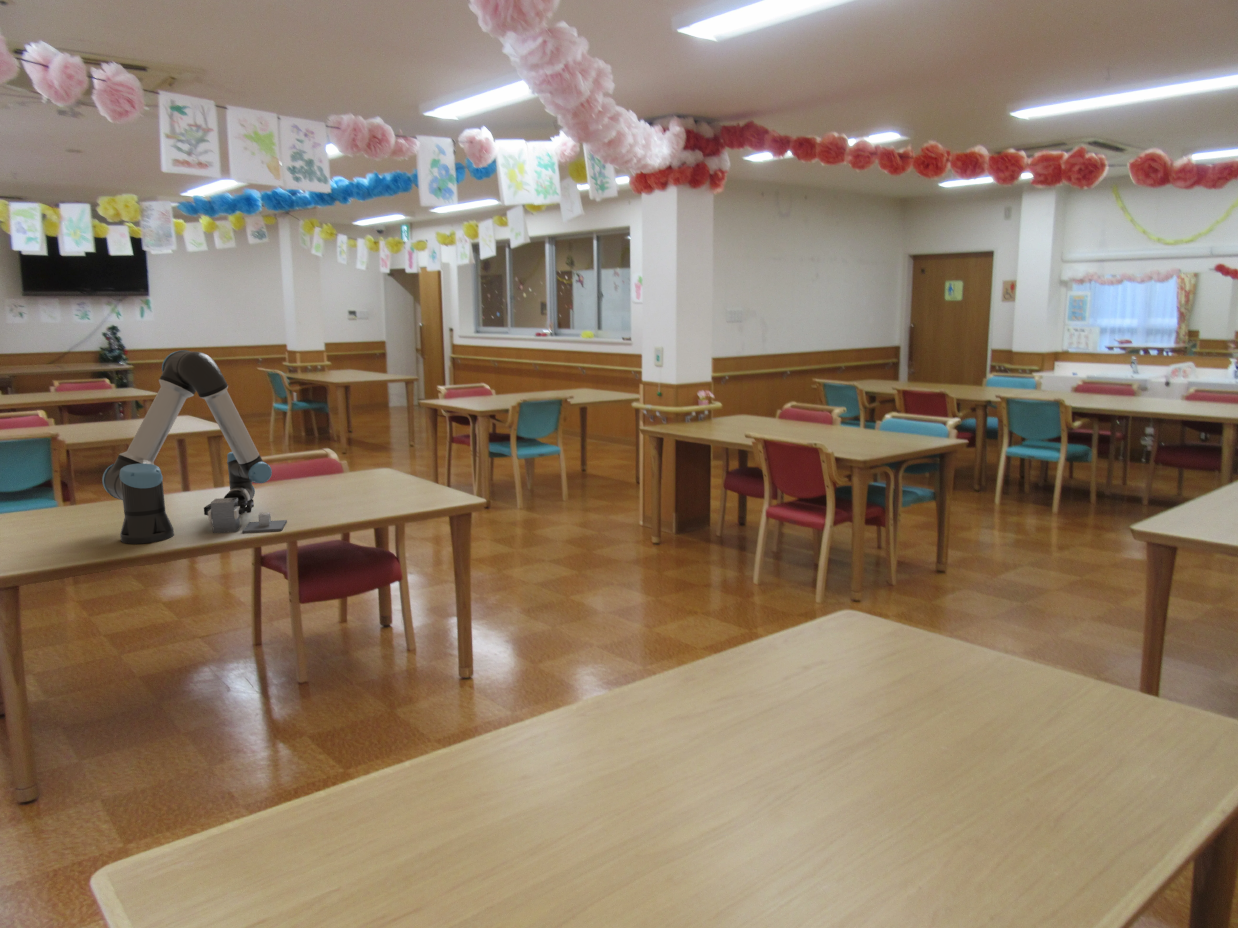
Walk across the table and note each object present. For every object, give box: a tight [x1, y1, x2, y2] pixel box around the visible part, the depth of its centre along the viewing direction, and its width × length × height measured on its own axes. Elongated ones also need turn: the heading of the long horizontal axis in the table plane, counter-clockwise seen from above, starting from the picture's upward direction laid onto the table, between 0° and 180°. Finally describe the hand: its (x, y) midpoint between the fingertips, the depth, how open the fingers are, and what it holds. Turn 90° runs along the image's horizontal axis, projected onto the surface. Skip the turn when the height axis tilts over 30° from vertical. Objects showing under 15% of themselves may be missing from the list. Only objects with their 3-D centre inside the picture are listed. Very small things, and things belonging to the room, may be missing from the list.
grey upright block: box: [209, 497, 241, 534], centre depth 291 cm, size 7×7×10 cm
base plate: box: [242, 519, 288, 534], centre depth 294 cm, size 12×12×1 cm
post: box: [257, 511, 272, 527], centre depth 294 cm, size 3×3×4 cm
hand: (222, 515), depth 286 cm, fingers open, 7 cm apart
